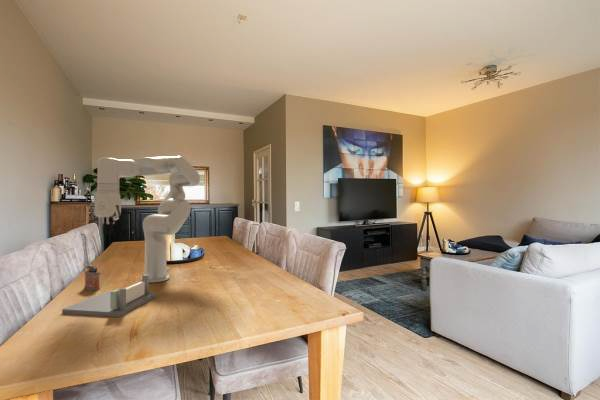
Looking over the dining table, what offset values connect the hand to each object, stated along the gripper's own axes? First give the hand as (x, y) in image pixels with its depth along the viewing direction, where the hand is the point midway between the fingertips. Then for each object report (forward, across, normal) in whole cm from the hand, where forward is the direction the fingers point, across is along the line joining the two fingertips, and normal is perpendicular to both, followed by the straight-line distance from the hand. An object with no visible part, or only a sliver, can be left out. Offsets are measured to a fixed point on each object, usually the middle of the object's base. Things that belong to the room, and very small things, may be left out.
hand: (108, 233), depth 123 cm
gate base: (+25, +12, -7) cm, 28 cm away
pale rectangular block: (+23, +19, -6) cm, 31 cm away
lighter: (+25, -14, +3) cm, 29 cm away
